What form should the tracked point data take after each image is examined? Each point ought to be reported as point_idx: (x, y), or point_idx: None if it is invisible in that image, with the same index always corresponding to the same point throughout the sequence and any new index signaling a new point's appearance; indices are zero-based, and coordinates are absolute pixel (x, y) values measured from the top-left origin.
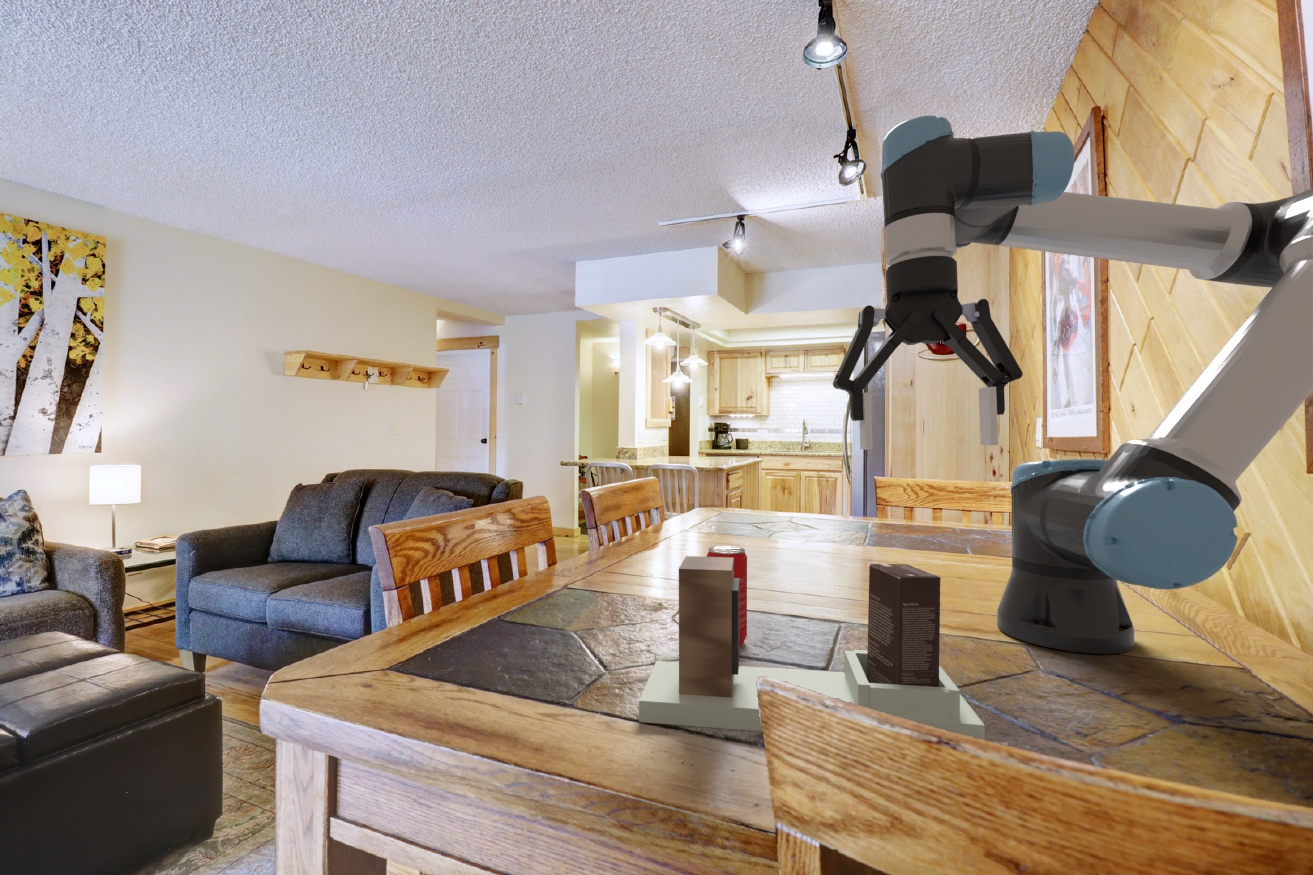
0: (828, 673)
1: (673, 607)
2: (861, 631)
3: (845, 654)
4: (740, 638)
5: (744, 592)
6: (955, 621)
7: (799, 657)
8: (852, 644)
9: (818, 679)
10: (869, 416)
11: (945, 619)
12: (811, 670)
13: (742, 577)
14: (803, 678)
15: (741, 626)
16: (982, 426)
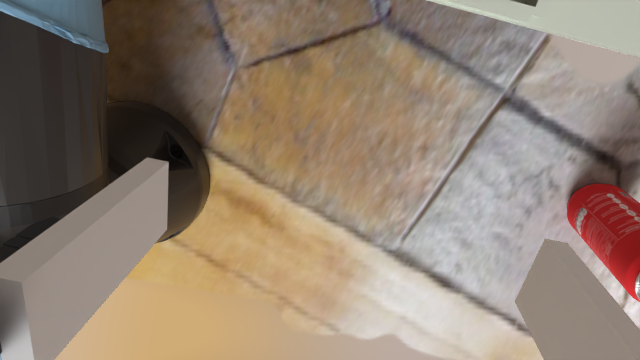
0: (553, 24)
1: None
2: (385, 216)
3: (550, 7)
4: (588, 187)
5: (612, 222)
6: (244, 232)
7: (518, 141)
8: (422, 175)
9: (579, 4)
10: (614, 321)
11: (253, 241)
12: (571, 37)
13: (632, 231)
14: (599, 9)
15: (594, 195)
16: (137, 246)
